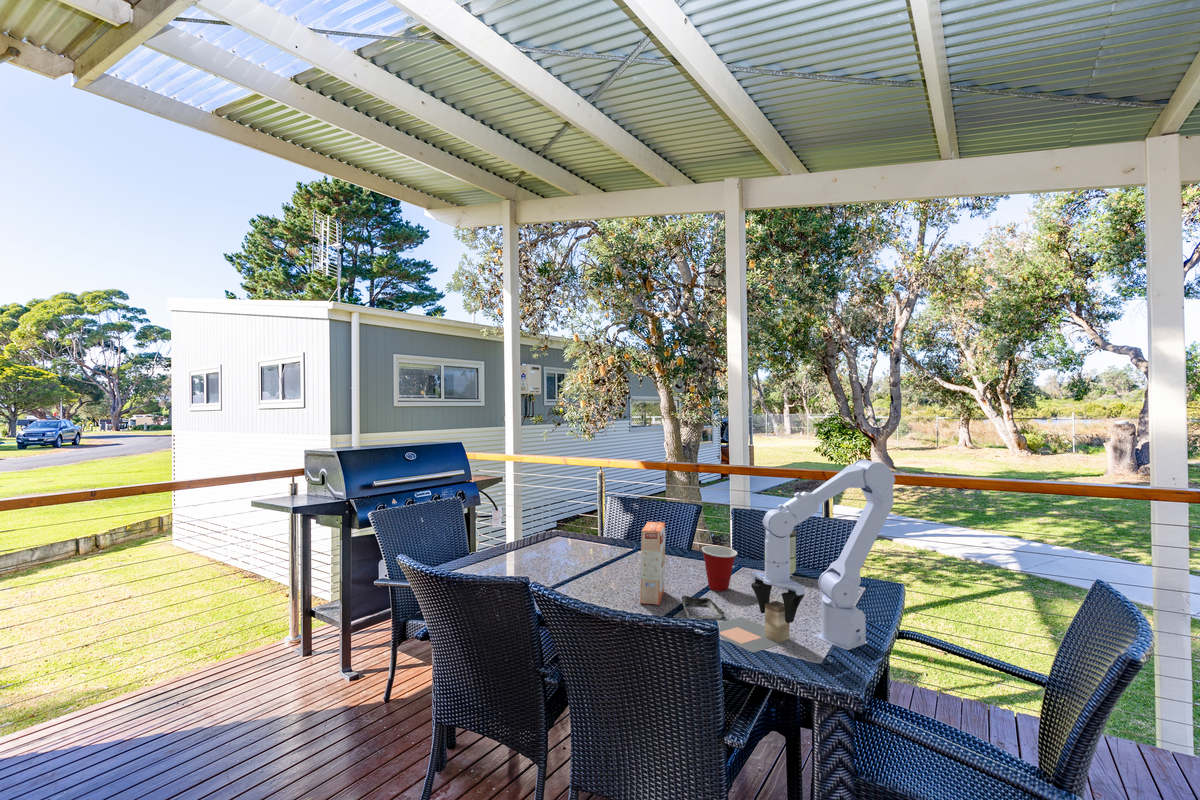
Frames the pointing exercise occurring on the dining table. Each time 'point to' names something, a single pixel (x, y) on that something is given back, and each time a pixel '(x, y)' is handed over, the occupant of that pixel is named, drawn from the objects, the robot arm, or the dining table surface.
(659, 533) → the cracker box
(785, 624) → the maple block
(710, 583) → the plastic cup
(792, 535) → the coffee can
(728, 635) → the rubber mat
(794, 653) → the dining table surface
